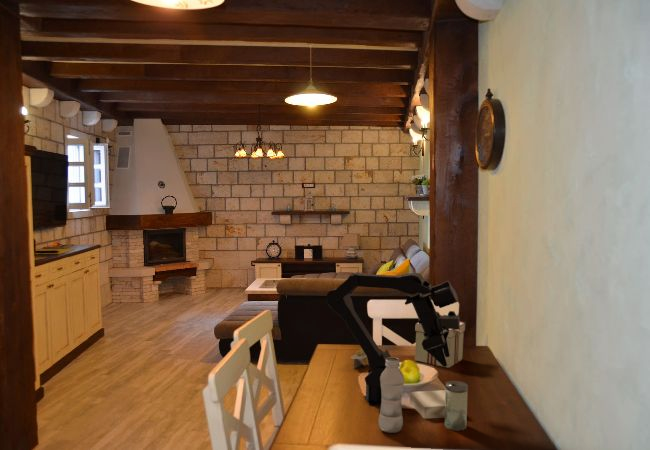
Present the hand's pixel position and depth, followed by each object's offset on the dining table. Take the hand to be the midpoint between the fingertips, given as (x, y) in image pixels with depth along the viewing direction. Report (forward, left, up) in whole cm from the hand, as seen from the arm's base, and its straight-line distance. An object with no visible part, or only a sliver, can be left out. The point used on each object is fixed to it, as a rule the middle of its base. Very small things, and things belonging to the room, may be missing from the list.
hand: (446, 361), depth 162 cm
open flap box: (-15, +44, -16) cm, 49 cm away
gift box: (+19, +47, -15) cm, 54 cm away
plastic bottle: (-21, -11, -15) cm, 28 cm away
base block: (-3, +1, -15) cm, 15 cm away
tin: (-2, -11, -15) cm, 19 cm away
